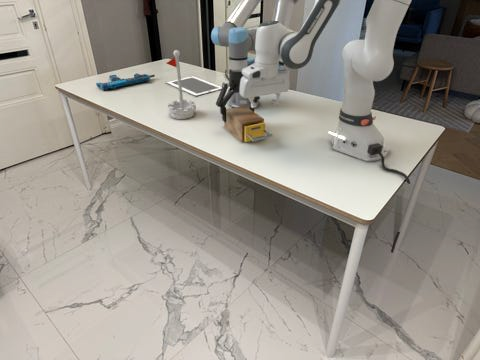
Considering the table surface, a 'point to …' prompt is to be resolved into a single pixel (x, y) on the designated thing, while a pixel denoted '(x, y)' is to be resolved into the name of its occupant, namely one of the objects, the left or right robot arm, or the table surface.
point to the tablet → (195, 86)
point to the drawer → (255, 132)
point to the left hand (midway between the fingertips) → (238, 118)
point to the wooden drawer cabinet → (240, 120)
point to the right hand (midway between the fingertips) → (264, 105)
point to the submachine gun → (123, 81)
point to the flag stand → (180, 95)
